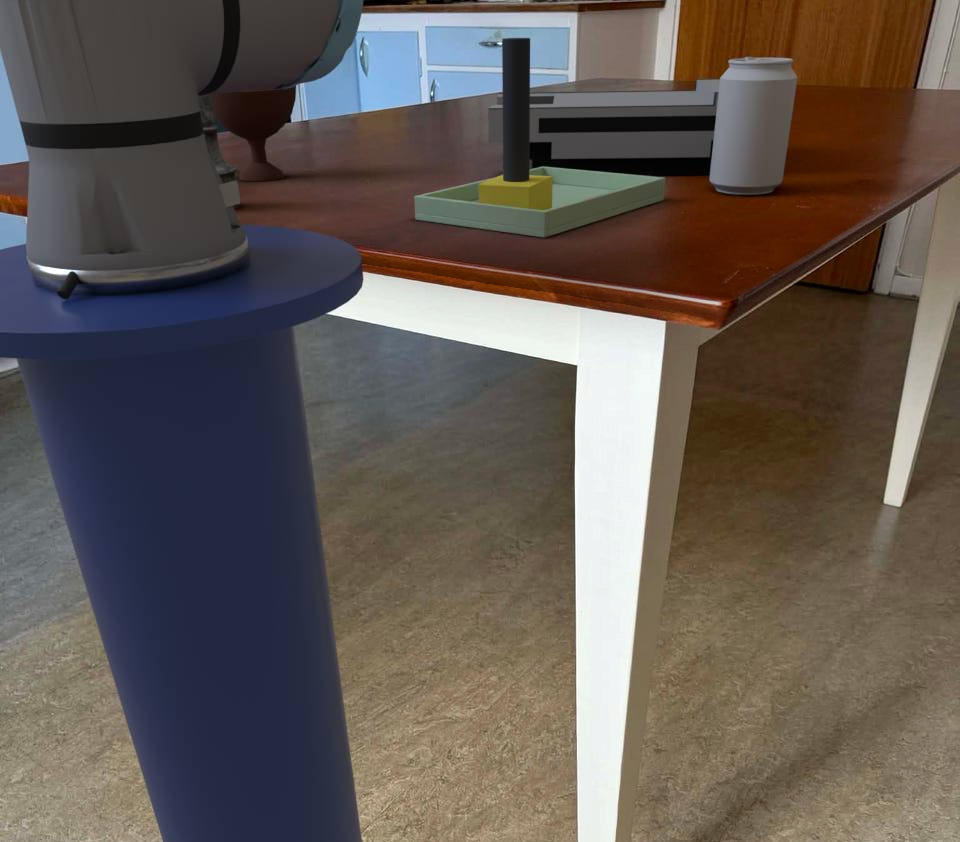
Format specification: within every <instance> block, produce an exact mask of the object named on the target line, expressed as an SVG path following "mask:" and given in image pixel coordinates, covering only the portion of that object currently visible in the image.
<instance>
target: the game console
mask: <svg viewBox="0 0 960 842" xmlns="http://www.w3.org/2000/svg"><path fill="white" fill-rule="evenodd" d="M719 84H720V78H695V81H694V89H673V90H669V89H667V90H663V89H661V90H612V91H611V90H610V91H609V90H607V91H555V92H554V91H552V92H551V91H549V92H547V91H546V92H545V91H542V92H530V147H529V160H531V169H534V168H538V167H554V168H565V169H576V170H587V171H598V172H609V173H620V174H631V175H642V176H692V175H693V176H696V175H697V176H699V175H701V176H702V175H709V176H710V169H711V160H712V150H713V141H714V132H715V122H716V113H717V103H718V94H719ZM487 115H488V116H487V117H488V118H487V119H488V121H487V122H488V126H487V127H488V143H489V144H491V143H492V144H497V143H501V144H503V92H499V93H498V94H497V96H496V104H491V105H489V107H488V109H487Z"/></svg>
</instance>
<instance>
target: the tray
mask: <svg viewBox="0 0 960 842" xmlns="http://www.w3.org/2000/svg"><path fill="white" fill-rule="evenodd" d="M529 175H537V176H552V177H553V184H552V208H550V209H547V210H536V209H527V208H519V207H511V206H503V205H494V204H486V203H479V184H481V183H483V182H486V181H488V180H491V179H493V178H496V177H497V176H495V177H492V178H487V179H483V180H477V181H473V182H470V183H465V184H461V185H457V186H452V187H447V188H444V189H438V190H436V191H435V190H434V191H431V192H427V193H421V194H418V195H414V196H413V201H414V214H415V215H414V216H415V218H414V219H415V220H416V221H423V222H430V223H436V224H442V225H443V224H444V225H451V226H458V227H464V228H473V229H480V230H487V231H494V232H502V233H508V234H515V235H523V236H530V237H537V238H545V239H546V238H548V237H551V236H554V235H557V234H561V233H563V232H566V231H570V230H572V229H573V230H574V229H576V228H579V227H583V226H586V225H589V224H592V223H595V222H599V221H601V220H605V219H608V218H611V217H615V216H618V215H620V214H624V213H627V212H630V211H633V210H636V209H640V208H642V207H646V206H649V205H653V204H656V203H658V202H662V201H664V200H665V190H666V189H665V187H666V177H663V176H654V175H631V174H620V173H609V172H598V171H587V170H576V169H565V168H554V167H538V168H534V169H532V168H529Z"/></svg>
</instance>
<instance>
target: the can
mask: <svg viewBox="0 0 960 842" xmlns="http://www.w3.org/2000/svg"><path fill="white" fill-rule="evenodd" d="M727 63H728V64H729V67H728V68H727V69H726V71H725V72H724V73H723V74H722V75H721V76H720V77H719V79H720V84H719V94H718V103H717V113H716V122H715V132H714V141H713V150H712V160H711V169H710V175H709V180H708V181H709V182H710V183H711V184H712V186H713V187H714V188H715V191H716V192H719V193H723V194H727V195H737V196H756V195H757V196H758V195H764V194H765V195H766V194H769V193H772V192H774V190H775V189H776V188H777V187H778V186H779V185H780V184H782V183H783V181H784V173H785V166H786V159H787V152H788V146H789V138H790V132H791V125H792V118H793V112H794V111H793V110H794V106H795V105H794V103H795V97H796V90H797V84H798V76H797V74H796V73H795V71H794V69H793V68H792V63H794V59H793V58H788V57H753V56H745V57H741V58H732V59H729V60H728V61H727Z"/></svg>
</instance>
